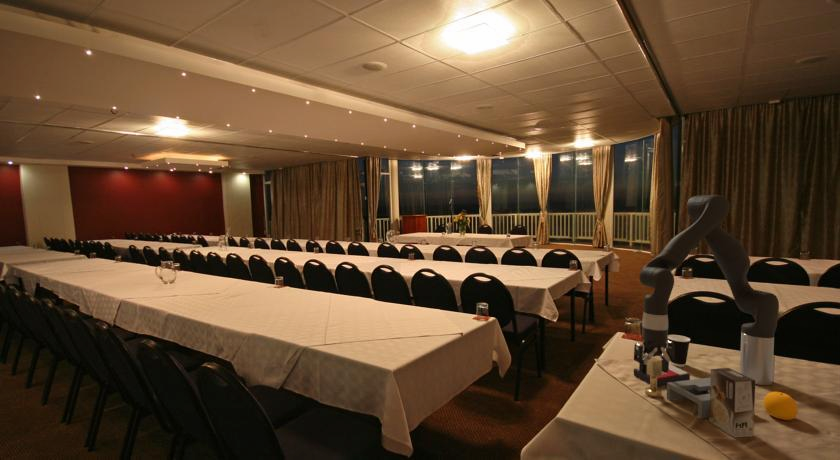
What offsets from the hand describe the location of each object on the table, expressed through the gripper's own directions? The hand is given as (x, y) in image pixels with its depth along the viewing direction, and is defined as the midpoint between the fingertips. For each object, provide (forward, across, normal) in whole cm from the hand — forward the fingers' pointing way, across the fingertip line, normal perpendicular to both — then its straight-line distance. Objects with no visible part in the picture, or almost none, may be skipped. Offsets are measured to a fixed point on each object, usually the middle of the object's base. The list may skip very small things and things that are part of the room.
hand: (653, 372), depth 137 cm
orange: (+8, -26, +21) cm, 34 cm away
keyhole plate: (+8, -11, +10) cm, 17 cm away
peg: (+8, 0, 0) cm, 8 cm away
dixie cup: (+8, -30, -20) cm, 37 cm away
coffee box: (+8, -5, +23) cm, 25 cm away
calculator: (+8, -12, -10) cm, 18 cm away
